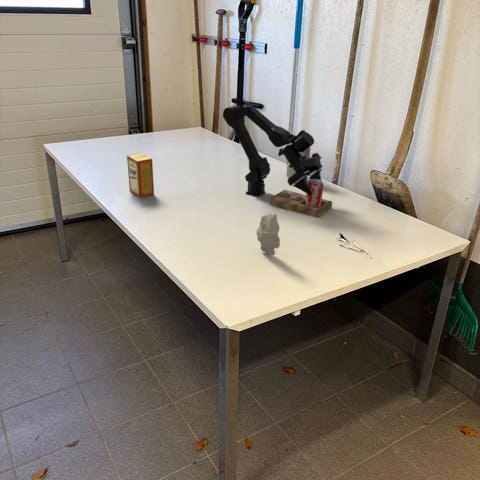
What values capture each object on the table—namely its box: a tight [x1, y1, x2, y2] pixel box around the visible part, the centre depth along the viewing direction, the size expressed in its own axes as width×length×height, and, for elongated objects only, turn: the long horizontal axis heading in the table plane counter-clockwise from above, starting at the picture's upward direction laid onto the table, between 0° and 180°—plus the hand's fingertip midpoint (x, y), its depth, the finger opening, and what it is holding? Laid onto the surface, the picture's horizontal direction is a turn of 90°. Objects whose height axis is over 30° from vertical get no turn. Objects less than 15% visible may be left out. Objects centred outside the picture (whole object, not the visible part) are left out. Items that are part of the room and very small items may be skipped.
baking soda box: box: [126, 153, 155, 198], centre depth 201 cm, size 10×6×16 cm
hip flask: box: [285, 143, 311, 183], centre depth 220 cm, size 16×4×20 cm, turn 24°
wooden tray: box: [269, 189, 333, 219], centre depth 195 cm, size 22×12×3 cm, turn 57°
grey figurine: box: [256, 212, 281, 256], centre depth 155 cm, size 11×4×15 cm, turn 38°
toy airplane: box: [336, 232, 370, 255], centre depth 165 cm, size 8×21×2 cm, turn 29°
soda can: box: [305, 179, 324, 208], centre depth 191 cm, size 6×6×12 cm
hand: (317, 191), depth 189 cm, fingers open, 9 cm apart
